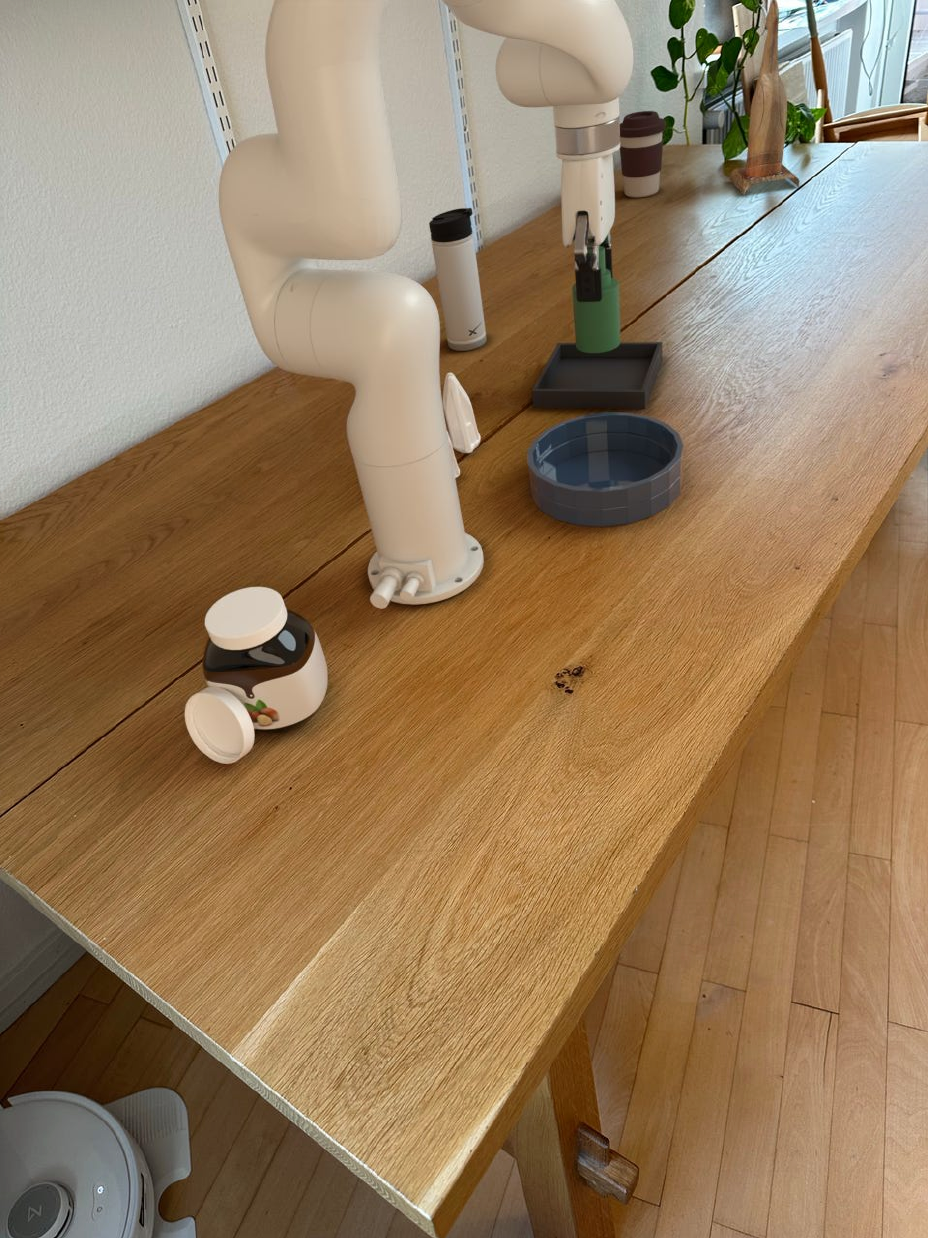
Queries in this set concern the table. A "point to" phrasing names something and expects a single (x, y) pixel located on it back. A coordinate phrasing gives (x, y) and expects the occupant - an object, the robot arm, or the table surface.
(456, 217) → the travel mug
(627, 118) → the coffee cup
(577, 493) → the bowl
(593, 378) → the tray
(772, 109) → the bird sculpture
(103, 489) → the table surface
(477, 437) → the white fin shape
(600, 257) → the bottle
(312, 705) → the spread jar
